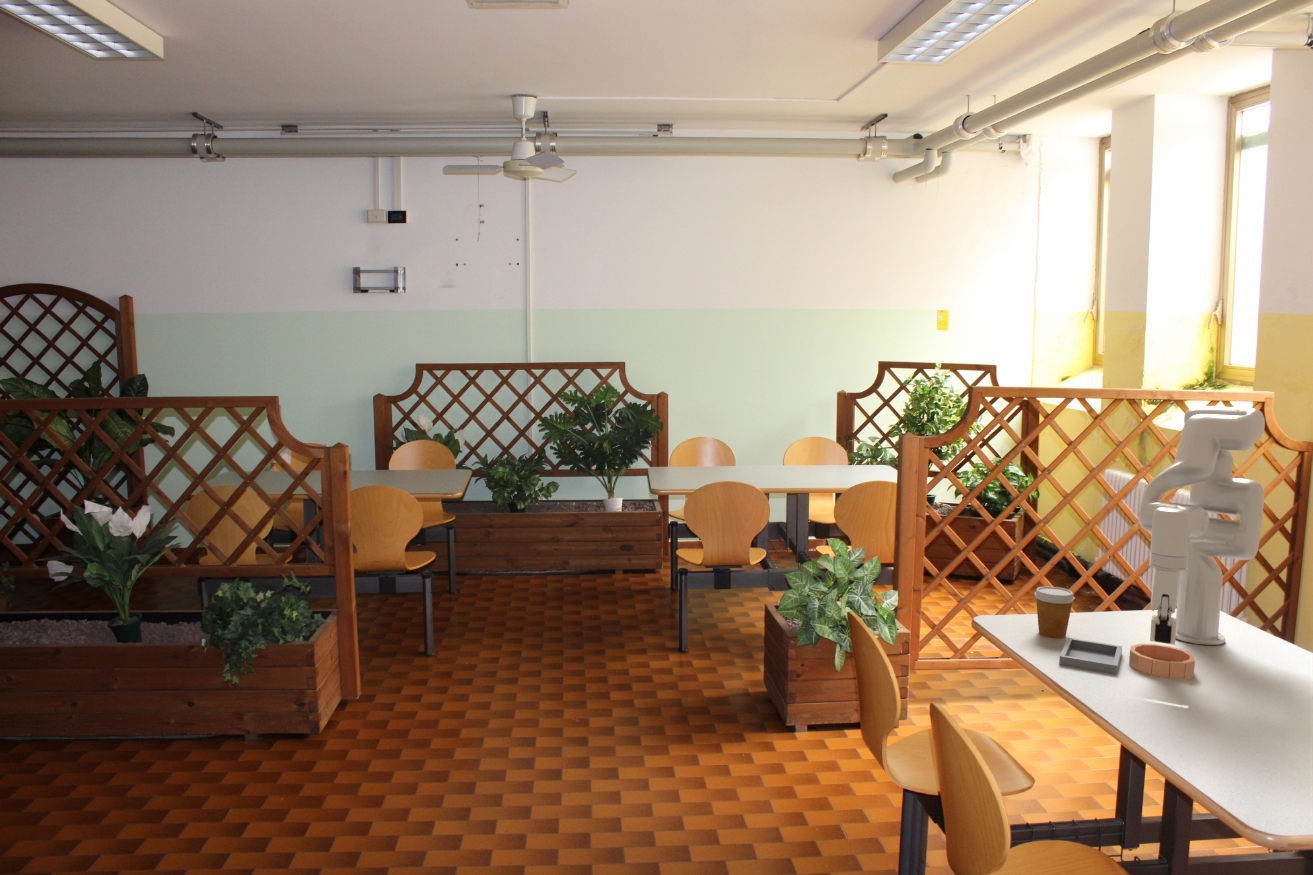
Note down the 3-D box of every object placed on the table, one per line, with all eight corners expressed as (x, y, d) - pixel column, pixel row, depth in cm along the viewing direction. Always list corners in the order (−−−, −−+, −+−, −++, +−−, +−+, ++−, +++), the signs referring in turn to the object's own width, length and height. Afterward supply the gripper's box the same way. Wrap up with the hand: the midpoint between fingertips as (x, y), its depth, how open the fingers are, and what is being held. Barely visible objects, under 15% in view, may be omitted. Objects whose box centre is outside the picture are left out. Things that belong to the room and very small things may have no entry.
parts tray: (1067, 647, 222) (1068, 637, 222) (1121, 656, 216) (1122, 646, 216) (1059, 666, 209) (1059, 655, 208) (1116, 676, 202) (1117, 665, 202)
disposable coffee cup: (1074, 634, 232) (1077, 589, 231) (1069, 644, 224) (1072, 597, 223) (1035, 628, 237) (1038, 584, 236) (1029, 637, 229) (1031, 592, 228)
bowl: (1131, 656, 216) (1132, 640, 215) (1193, 666, 209) (1194, 650, 209) (1127, 672, 205) (1128, 655, 204) (1193, 684, 198) (1194, 666, 198)
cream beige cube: (1150, 635, 209) (1152, 614, 209) (1175, 639, 207) (1176, 618, 206) (1149, 640, 205) (1151, 619, 205) (1175, 644, 203) (1176, 623, 202)
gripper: (1151, 552, 214) (1146, 626, 215) (1148, 566, 199) (1142, 645, 201) (1187, 556, 210) (1182, 632, 211) (1187, 570, 195) (1181, 651, 197)
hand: (1162, 637), depth 206 cm, fingers closed on cream beige cube, 4 cm apart
